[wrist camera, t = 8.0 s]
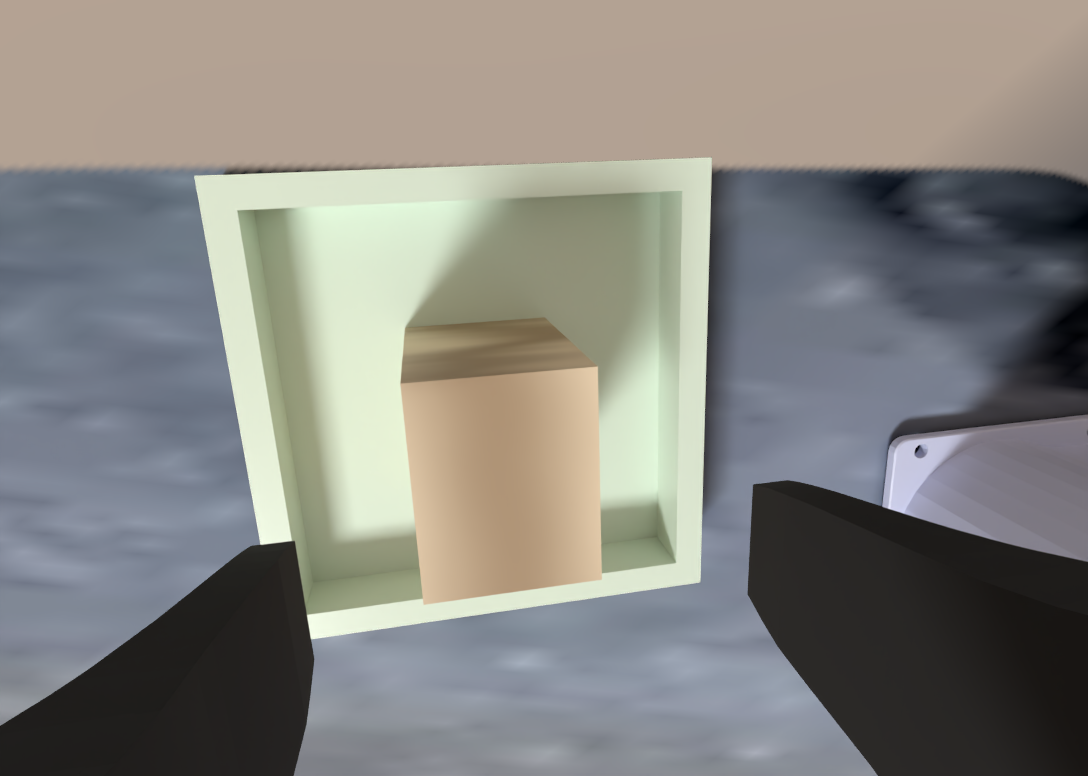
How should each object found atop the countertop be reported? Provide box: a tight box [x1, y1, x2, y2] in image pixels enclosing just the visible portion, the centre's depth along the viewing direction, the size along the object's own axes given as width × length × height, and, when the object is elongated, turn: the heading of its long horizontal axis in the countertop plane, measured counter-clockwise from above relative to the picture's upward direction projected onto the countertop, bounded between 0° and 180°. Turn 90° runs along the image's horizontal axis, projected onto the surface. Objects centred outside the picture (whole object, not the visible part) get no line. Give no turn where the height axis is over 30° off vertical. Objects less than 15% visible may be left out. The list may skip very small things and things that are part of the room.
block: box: [400, 317, 602, 605], centre depth 17 cm, size 4×5×6 cm
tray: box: [194, 157, 712, 639], centre depth 19 cm, size 13×13×2 cm
